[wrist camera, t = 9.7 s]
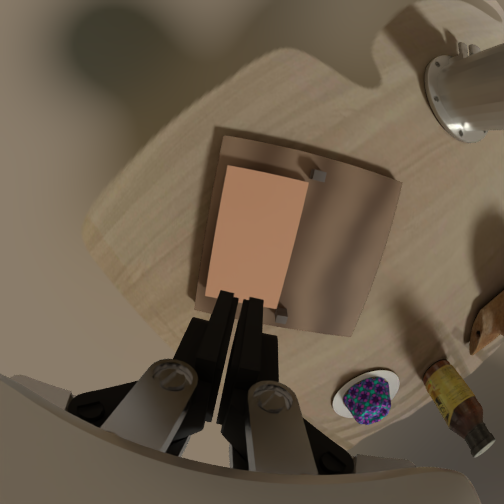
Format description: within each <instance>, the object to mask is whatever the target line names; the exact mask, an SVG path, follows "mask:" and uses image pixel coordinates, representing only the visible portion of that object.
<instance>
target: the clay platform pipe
mask: <svg viewBox="0 0 504 504" xmlns="http://www.w3.org/2000/svg"><path fill="white" fill-rule="evenodd" d="M500 334H501V335H503V336H504V290H503V291H502V292H501V293H500V294H499V295H497V296H496V297H495V298H494V299H493V300H492V301H490V302H489V303H488V304H487V305H486V306H484V307H483V308H482V309H481V310H480V312H479V313H478V315H477V317H476V319H475V321H474V323H473V327H472V331H471V336H470V344H469V345H470V355H472V356H473V355H474V354H475V353H477V352H478V351H479V350H481V349H482V348H484V347H485V346H486V345H488V344H489V343H490V342H491V341H493V340H494V339H495V338H496V337H498V336H499V335H500Z"/></svg>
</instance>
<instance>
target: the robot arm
mask: <svg viewBox="0 0 504 504" xmlns="http://www.w3.org/2000/svg"><path fill="white" fill-rule="evenodd" d="M458 47H459V54H458V55H457V56H455V57H452V56H449V55H442V56H438V57H436V58H434V59H433V60H432V61H430V62H429V64H428V66H427V67H426V71H425V90H426V94H427V98H428V101H429V103H430V106H431V108H432V110H433V112H434V114H435V116H436V118H437V119H438V121H439V122H440V124H441V125H442V126H443V127H444V129H445V130H446V131H447V132H448V133H449V134H450V135H451V136H453V137H454V138H456V139H457V140H460V141H462V142H466V143H476V142H479V141H481V140H482V139H483V138H484V137H485V136H486V134H487V132H488V131H489V130H504V43H503V44H500V45H497V46H494V47H492V48H489V49H486V50H483V51H480V48H479V47H478V46H476V45H473V44H472V45H469V55H470V56H468V55H467V53H468V52H467V45H466V44H465V43H462V42H459V43H458ZM238 301H239V298H237V297H234V293H232V292H227V291H223V290H220V293H219V296H218V298H217V301H216V304H215V306H214V309H213V312H212V314H211V317H210V320H209V321H207V320H203V319H199V318H195V317H193V318H192V319H191V321H190V323H189V326H188V328H187V330H186V332H185V334H184V336H183V338H182V341H181V343H180V345H179V347H178V349H177V351H176V354H175V356H174V358H173V359H163V360H159V361H157V362H155V363H153V364H152V365H151V366H150V367H149V368H148V370H147V371H146V372H145V373H144V374H143V376H142V377H141V378H140V379H139V380H138V381H135V382H131V383H127V384H123V385H119V386H114V387H110V388H105V389H101V390H96V391H91V392H86V393H83V394H80V395H77V396H75V395H72V393H71V391H68V390H65V389H62V388H58V387H55V386H52V385H49V384H46V383H43V382H41V381H37V380H35V379H32V378H29V377H27V376H23V375H15V376H13V377H11V378H8V377H6V376H4V375H2V374H0V504H481V502H480V500H479V497H478V495H477V493H476V491H475V489H474V487H473V485H472V483H471V482H470V480H469V479H468V478H467V477H466V476H465V475H464V474H462V473H460V472H457V471H454V470H450V469H445V468H437V467H416V466H415V465H414V464H413V463H412V462H411V461H409V460H405V459H394V458H384V457H375V456H367V455H360V454H357V455H356V456H355V457H354V456H350V454H349V453H348V452H347V451H346V450H344V449H343V448H342V447H340V446H339V445H337V444H336V443H335V442H333V441H332V440H331V439H329V438H328V437H327V436H325V435H324V434H323V433H322V432H320V431H319V430H318V429H316V428H315V427H314V426H313V425H311V424H310V423H309V422H308V421H306V420H305V419H304V418H303V417H302V413H301V410H300V406H299V403H298V399H297V397H296V395H295V393H294V392H293V391H292V390H291V389H290V388H289V387H287V386H286V385H284V384H282V383H279V373H278V338H277V336H275V335H270V334H265V333H262V325H263V305H264V300H263V299H258V298H254V297H249V300H246V299H243V303H242V307H241V312H240V316H239V320H238V324H237V328H236V332H235V337H234V341H233V345H232V349H231V354H230V358H229V363H228V368H227V373H226V378H225V383H224V388H223V392H222V398H221V402H220V408H219V413H218V417H217V422H216V423H217V424H221V425H222V429H221V433H222V435H223V436H224V437H225V438H226V439H227V441H228V442H230V445H229V458H230V468H227V467H221V466H216V465H211V464H206V463H202V462H198V461H193V460H189V459H185V458H182V457H181V456H182V454H183V452H184V450H185V448H186V446H187V444H188V442H189V440H190V436H191V435H192V434H194V433H197V432H199V431H201V430H202V429H203V428H204V423H205V421H207V422H211V421H212V417H213V412H214V408H215V404H216V399H217V395H218V390H219V386H220V382H221V377H222V373H223V368H224V364H225V360H226V355H227V350H228V346H229V341H230V337H231V332H232V328H233V323H234V319H235V314H236V310H237V305H238Z"/></svg>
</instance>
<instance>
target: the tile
mask: <svg viewBox="0 0 504 504" xmlns="http://www.w3.org/2000/svg"><path fill="white" fill-rule="evenodd" d="M308 184H309V183H308V182H305V181H301V180H296V179H292V178H288V177H284V176H279V175H275V174H270V173H265V172H261V171H256V170H251V169H246V168H241V167H235V166H230V165H228V166H227V171H226V176H225V181H224V187H223V192H222V197H221V203H220V208H219V213H218V219H217V225H216V230H215V236H214V242H213V248H212V254H211V260H210V266H209V273H208V279H207V286H206V292H205V296H208V297H213V298H218V296H219V293H220V290H223V291H227V292H232V293H234V297H237V298H239V301H238V302H239V303H243V299H246V300H249V297H254V298H258V299H263V300H264V305H263V307H267V308H273V309H277V306H278V302H279V298H280V295H281V291H282V288H283V284H284V280H285V277H286V273H287V269H288V265H289V262H290V258H291V254H292V250H293V246H294V242H295V238H296V234H297V230H298V226H299V222H300V218H301V214H302V210H303V206H304V202H305V197H306V193H307V189H308Z"/></svg>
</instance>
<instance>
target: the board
mask: <svg viewBox="0 0 504 504" xmlns="http://www.w3.org/2000/svg"><path fill="white" fill-rule="evenodd" d="M228 165H230V166H235V167H241V168H246V169H251V170H256V171H261V172H265V173H270V174H275V175H279V176H284V177H288V178H292V179H296V180H301V181H305V182H308V183H309V184H308V189H307V193H306V197H305V202H304V206H303V210H302V214H301V218H300V222H299V226H298V230H297V234H296V238H295V242H294V246H293V250H292V254H291V258H290V262H289V265H288V269H287V273H286V277H285V280H284V284H283V288H282V291H281V295H280V298H279V302H278V306H277V309H273V308H267V307H263V324H266V325H272V326H277V327H283V328H289V329H296V330H302V331H309V332H316V333H323V334H330V335H338V336H346V337H351V336H352V334H353V331H354V329H355V327H356V324H357V322H358V320H359V317H360V315H361V312H362V310H363V308H364V305H365V303H366V300H367V297H368V295H369V292H370V290H371V287H372V284H373V281H374V279H375V276H376V273H377V270H378V267H379V264H380V261H381V258H382V255H383V252H384V249H385V246H386V243H387V239H388V236H389V233H390V229H391V226H392V222H393V219H394V215H395V211H396V207H397V204H398V200H399V195H400V191H401V187H402V182H400V181H397V180H394V179H392V178H389V177H386V176H383V175H380V174H378V173H375V172H372V171H369V170H366V169H363V168H360V167H356V166H353V165H350V164H347V163H343V162H340V161H337V160H333V159H330V158H326V157H323V156H319V155H315V154H311V153H307V152H304V151H300V150H295V149H291V148H287V147H283V146H278V145H274V144H269V143H264V142H259V141H254V140H249V139H244V138H238V137H232V136H226V135H224V136H223V140H222V145H221V150H220V155H219V160H218V165H217V170H216V175H215V180H214V186H213V191H212V196H211V202H210V208H209V213H208V219H207V225H206V231H205V238H204V244H203V250H202V257H201V264H200V271H199V278H198V285H197V292H196V300H195V308H194V310H197V311H202V312H206V313H211V314H212V312H213V309H214V306H215V304H216V301H217V298H213V297H208V296H205V292H206V286H207V279H208V273H209V266H210V260H211V254H212V248H213V242H214V236H215V230H216V225H217V219H218V213H219V208H220V203H221V197H222V192H223V187H224V181H225V176H226V171H227V166H228ZM241 307H242V303H239V302H238V305H237V310H236V314H235V319H239V316H240V312H241Z"/></svg>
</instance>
